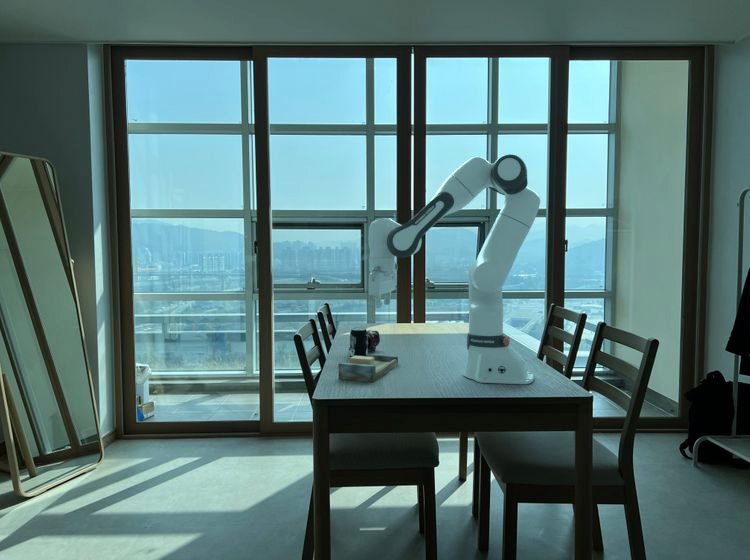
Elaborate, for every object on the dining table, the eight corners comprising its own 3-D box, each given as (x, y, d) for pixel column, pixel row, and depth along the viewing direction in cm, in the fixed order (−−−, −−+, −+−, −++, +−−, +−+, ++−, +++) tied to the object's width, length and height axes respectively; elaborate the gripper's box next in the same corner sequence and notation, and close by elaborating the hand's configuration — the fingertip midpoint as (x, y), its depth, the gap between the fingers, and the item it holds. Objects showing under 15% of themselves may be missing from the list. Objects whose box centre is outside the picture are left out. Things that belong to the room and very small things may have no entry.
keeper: (374, 372, 172) (374, 357, 171) (370, 374, 168) (370, 359, 168) (354, 370, 174) (354, 355, 174) (350, 373, 170) (350, 358, 170)
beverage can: (365, 362, 191) (365, 330, 190) (348, 361, 193) (348, 329, 192) (369, 358, 198) (369, 327, 197) (352, 358, 199) (352, 327, 198)
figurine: (372, 357, 216) (355, 367, 200) (356, 339, 218) (338, 347, 202) (388, 341, 213) (372, 350, 197) (371, 323, 215) (354, 331, 199)
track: (398, 364, 188) (398, 350, 188) (373, 382, 164) (373, 366, 163) (367, 361, 192) (367, 348, 192) (338, 378, 168) (338, 363, 167)
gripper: (381, 267, 167) (382, 309, 168) (398, 264, 187) (399, 302, 187) (363, 267, 169) (364, 309, 170) (382, 265, 189) (383, 302, 189)
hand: (383, 306), depth 179 cm, fingers open, 8 cm apart
